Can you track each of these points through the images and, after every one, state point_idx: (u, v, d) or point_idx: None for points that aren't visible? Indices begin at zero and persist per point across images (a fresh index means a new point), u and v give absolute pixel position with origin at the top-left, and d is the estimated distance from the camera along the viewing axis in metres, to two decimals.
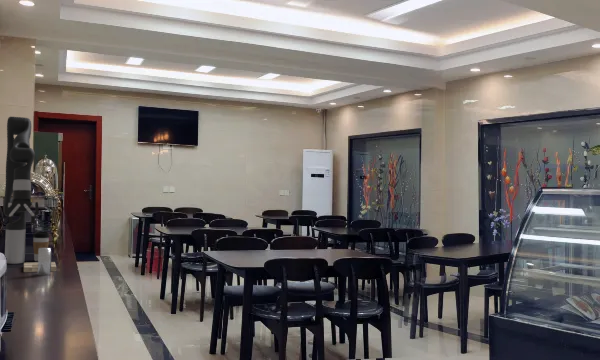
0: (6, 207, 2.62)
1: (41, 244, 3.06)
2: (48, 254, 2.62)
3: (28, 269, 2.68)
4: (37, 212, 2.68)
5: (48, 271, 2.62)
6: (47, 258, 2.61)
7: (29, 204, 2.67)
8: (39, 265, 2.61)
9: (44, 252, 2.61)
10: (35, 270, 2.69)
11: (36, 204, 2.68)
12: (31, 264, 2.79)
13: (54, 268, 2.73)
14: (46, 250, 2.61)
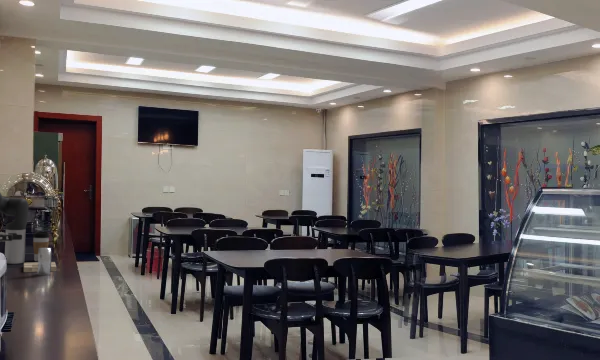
0: None
1: (41, 244, 3.06)
2: (48, 254, 2.62)
3: (28, 269, 2.68)
4: (9, 240, 2.47)
5: (48, 271, 2.62)
6: (47, 258, 2.61)
7: None
8: (39, 265, 2.61)
9: (44, 252, 2.61)
10: (35, 270, 2.69)
11: None
12: (31, 264, 2.79)
13: (54, 268, 2.73)
14: (46, 250, 2.61)
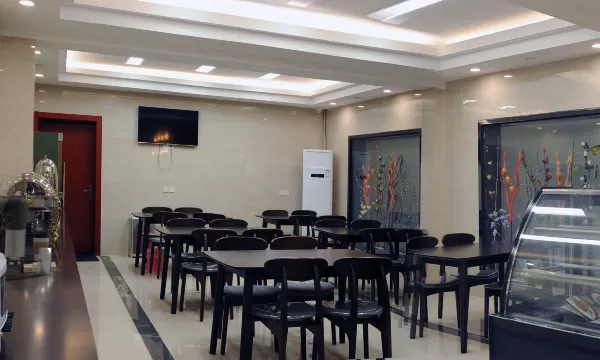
0: None
1: (41, 244, 3.06)
2: (48, 254, 2.62)
3: (28, 269, 2.68)
4: None
5: (48, 271, 2.62)
6: (47, 258, 2.61)
7: None
8: (39, 265, 2.61)
9: (44, 252, 2.61)
10: (35, 270, 2.69)
11: None
12: (31, 264, 2.79)
13: (54, 268, 2.73)
14: (46, 250, 2.61)
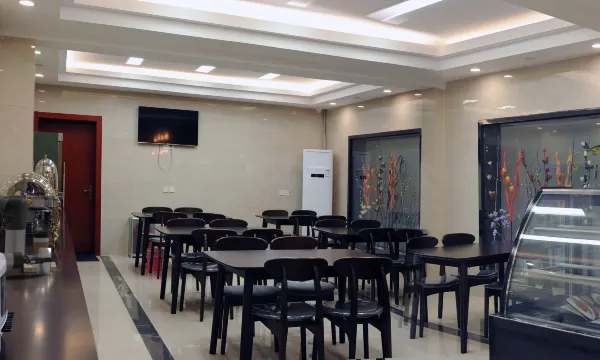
0: None
1: (41, 244, 3.06)
2: (48, 254, 2.62)
3: (28, 269, 2.68)
4: None
5: (48, 271, 2.62)
6: None
7: (30, 263, 2.56)
8: (39, 265, 2.61)
9: (44, 252, 2.61)
10: (35, 270, 2.69)
11: None
12: None
13: (54, 268, 2.73)
14: (46, 250, 2.61)
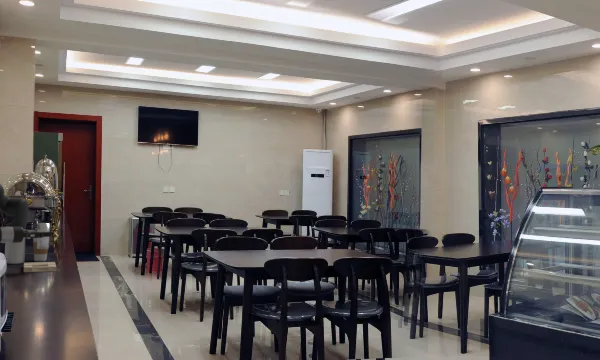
0: None
1: None
2: (47, 229, 2.73)
3: (28, 269, 2.68)
4: (40, 237, 2.68)
5: (47, 245, 2.73)
6: None
7: (29, 237, 2.67)
8: (38, 239, 2.72)
9: (43, 227, 2.72)
10: (35, 270, 2.69)
11: None
12: (31, 264, 2.79)
13: (54, 268, 2.73)
14: (45, 225, 2.72)
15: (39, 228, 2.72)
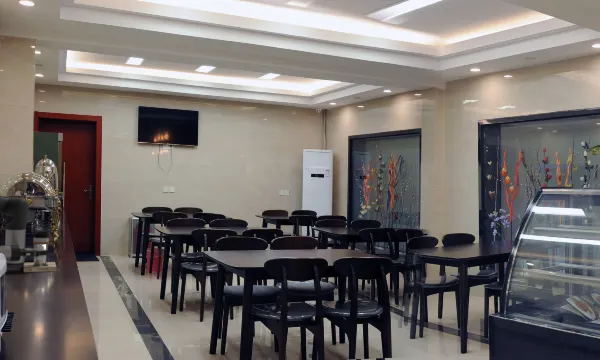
0: None
1: None
2: None
3: (28, 269, 2.68)
4: None
5: None
6: None
7: (26, 255, 2.70)
8: (35, 260, 2.74)
9: (40, 248, 2.74)
10: (35, 270, 2.69)
11: (28, 256, 2.67)
12: (31, 264, 2.79)
13: (54, 268, 2.73)
14: (42, 246, 2.75)
15: (36, 249, 2.74)
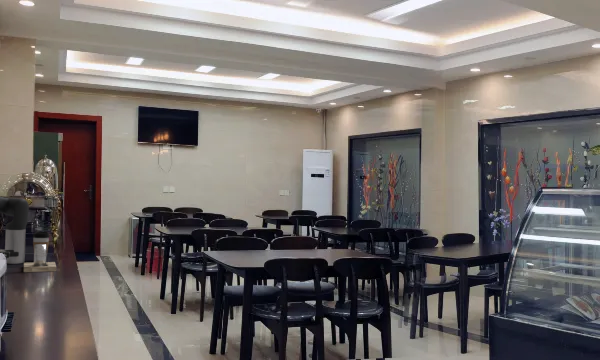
0: None
1: None
2: (43, 250, 2.76)
3: (28, 269, 2.68)
4: (6, 257, 2.61)
5: None
6: (42, 254, 2.75)
7: None
8: (35, 261, 2.74)
9: (40, 248, 2.74)
10: (35, 270, 2.69)
11: None
12: (31, 264, 2.79)
13: (54, 268, 2.73)
14: (41, 246, 2.75)
15: (36, 249, 2.74)
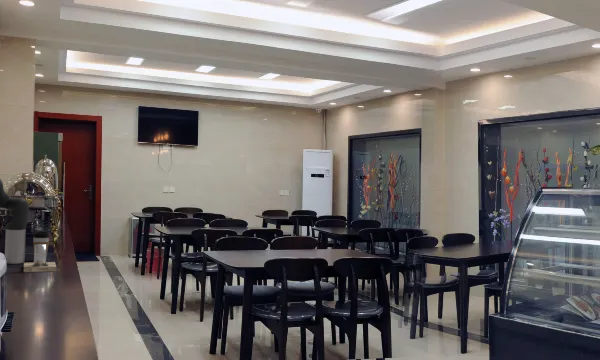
0: None
1: None
2: (43, 250, 2.76)
3: (28, 269, 2.68)
4: None
5: None
6: (42, 254, 2.75)
7: None
8: (35, 261, 2.74)
9: (40, 248, 2.74)
10: (35, 270, 2.69)
11: None
12: (31, 264, 2.79)
13: (54, 268, 2.73)
14: (41, 246, 2.75)
15: (36, 249, 2.74)
